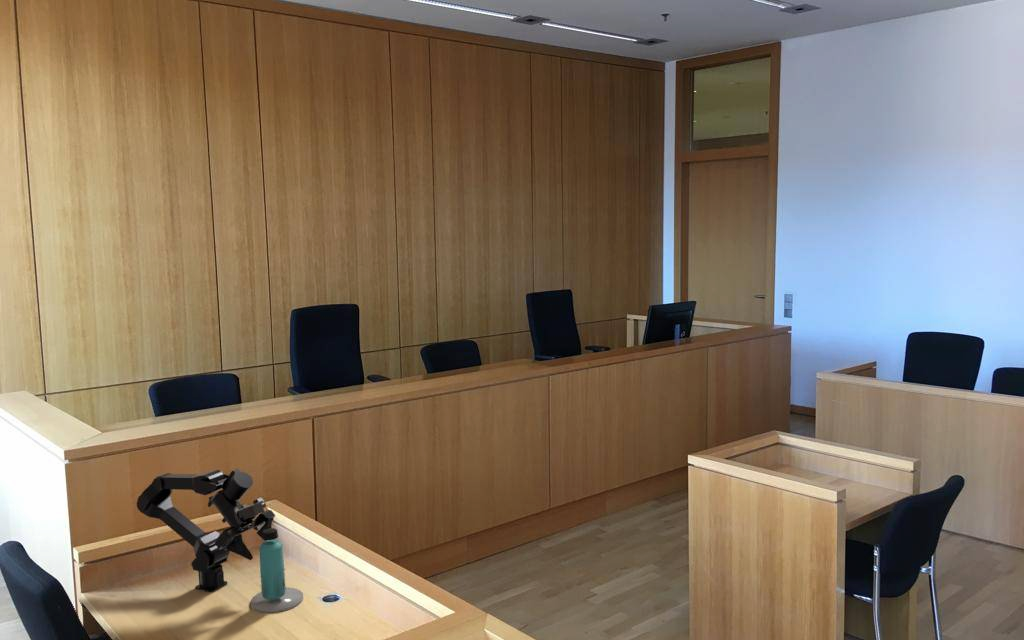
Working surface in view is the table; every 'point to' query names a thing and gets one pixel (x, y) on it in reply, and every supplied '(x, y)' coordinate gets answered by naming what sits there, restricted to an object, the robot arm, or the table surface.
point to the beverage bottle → (272, 565)
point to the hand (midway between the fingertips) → (263, 552)
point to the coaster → (277, 601)
